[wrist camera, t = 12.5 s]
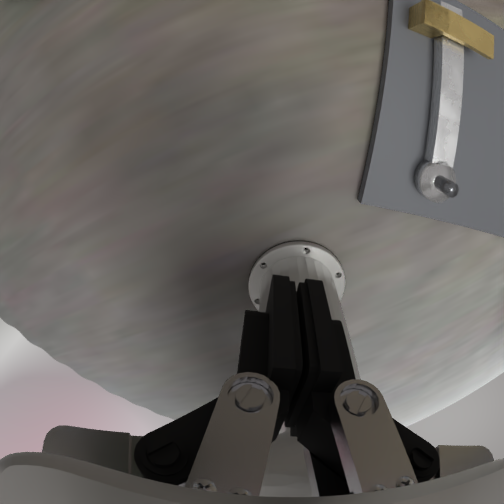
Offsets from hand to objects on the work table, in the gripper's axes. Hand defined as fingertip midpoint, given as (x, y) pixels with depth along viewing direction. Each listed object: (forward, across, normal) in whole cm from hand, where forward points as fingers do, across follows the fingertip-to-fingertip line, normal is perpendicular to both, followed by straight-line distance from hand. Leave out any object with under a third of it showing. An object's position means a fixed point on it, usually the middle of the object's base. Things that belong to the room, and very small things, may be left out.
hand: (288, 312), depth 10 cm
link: (+23, -17, -12) cm, 31 cm away
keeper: (+24, -17, -20) cm, 35 cm away
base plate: (+25, -26, -12) cm, 38 cm away
